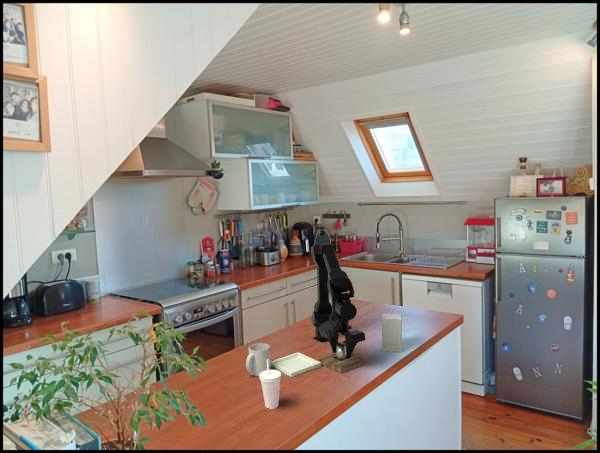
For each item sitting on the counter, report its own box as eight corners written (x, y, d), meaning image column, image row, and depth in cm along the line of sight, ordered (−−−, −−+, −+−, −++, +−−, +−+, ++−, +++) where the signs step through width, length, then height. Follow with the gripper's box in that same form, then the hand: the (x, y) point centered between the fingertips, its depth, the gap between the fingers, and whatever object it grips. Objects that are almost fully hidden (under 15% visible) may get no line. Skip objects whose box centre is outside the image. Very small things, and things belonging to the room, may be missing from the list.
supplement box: (402, 352, 170) (401, 319, 168) (381, 351, 171) (381, 318, 170) (401, 345, 177) (401, 313, 176) (382, 344, 178) (381, 312, 177)
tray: (269, 365, 163) (269, 361, 162) (298, 356, 170) (298, 352, 170) (291, 377, 152) (291, 373, 152) (321, 366, 160) (321, 362, 160)
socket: (319, 364, 162) (319, 357, 162) (342, 355, 169) (342, 349, 169) (340, 373, 154) (340, 366, 153) (364, 364, 160) (364, 357, 160)
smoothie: (260, 401, 137) (258, 356, 135) (282, 399, 137) (280, 354, 136) (260, 412, 130) (258, 364, 129) (283, 410, 131) (281, 363, 129)
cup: (275, 370, 159) (273, 345, 158) (255, 381, 151) (254, 355, 150) (259, 366, 163) (258, 341, 162) (239, 376, 155) (238, 351, 154)
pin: (334, 364, 162) (334, 343, 161) (342, 361, 164) (341, 341, 163) (341, 367, 159) (340, 346, 158) (348, 364, 161) (348, 343, 160)
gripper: (305, 311, 162) (306, 353, 163) (341, 323, 147) (342, 370, 149) (329, 304, 169) (330, 346, 170) (365, 315, 154) (367, 360, 155)
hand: (341, 355), depth 161 cm, fingers open, 7 cm apart
